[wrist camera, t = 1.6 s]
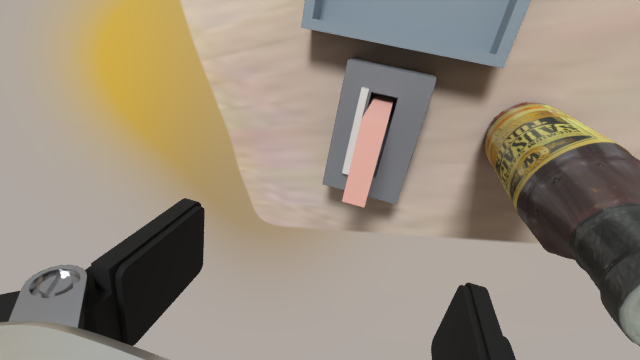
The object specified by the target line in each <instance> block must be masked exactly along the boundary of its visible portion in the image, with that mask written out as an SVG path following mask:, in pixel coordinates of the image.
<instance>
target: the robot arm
mask: <svg viewBox="0 0 640 360" xmlns="http://www.w3.org/2000/svg"><path fill="white" fill-rule="evenodd" d="M203 246H204V208H203V207H201V204H200V203H199V202H196V201H193V200H190V199H186V198H184V199H182V200H181V201H179V202H178V203H176V204H175V205H174V206H172V207H171V208H169V209H168V210H166V211H165V212H164V213H162V214H161V215H159V216H158V217H156V218H155V219H154V220H152V221H151V222H149V223H148V224H147V225H145V226H144V227H142V228H141V229H139V230H138V231H137V232H135V233H134V234H132V235H131V236H129V237H128V238H127V239H125V240H124V241H122V242H121V243H119V244H118V245H117V246H115V247H114V248H112V249H111V250H109V251H108V252H107V253H105V254H104V255H103V256H101V257H100V258H98V259H97V260H95V261H94V262H93V263H91V265H92V266H90V267H89V268H87V269H86V270H84V269H83V268H81V267H78V266H74V265H60V266H55V267H51V268H48V269H45V270H42V271H40V272H38V273H37V274H35V275H33V276H32V277H31V278H29V279H28V280H27V281H26V282H25V284H24V285H23V287H22V289H21V291H17V292H12V293H6V294H2V295H0V360H168V359H166V358H163V357H160V356H158V355H155V354H153V353H150V352H147V351H145V350H142V349H139V348H136V347H134V346H133V345H135V344H136V343H137V342H138V341H139V340H140V339H141V337H142V336H143V335H144V334H145V333H146V332H147V331H148V330H149V328H150V327H151V326H152V325H153V324H154V323H155V322H156V321H157V320H158V318H159V317H160V316H161V315H162V314H163V313H164V312H165V311H166V309H167V308H168V307H169V306H170V305H171V304H172V302H174V301H175V299H176V298H177V297H178V296H179V295H180V294H181V293H182V292H183V290H184V289H185V288H186V287H187V286H188V285H189V284H190V283H191V281H192V280H193V279H194V278H195V277H196V276H197V274H199V272H200V270H201V269H202V266H203ZM431 353H432V360H516V359H515V356H514V353H513V350H512V348H511V345H510V343H509V341H508V339H507V338H506V337H504V336H503V335H502V332H501V329H500V326H499V323H498V320H497V317H496V314H495V311H494V308H493V305H492V302H491V299H490V296H489V293H488V290H487V289H486V288H485V287H482V286H478V285H475V284H471V283H466V285H465V286H463V285H460V286H459V287H458V289H457V291H456V293H455V295H454V297H453V299H452V301H451V303H450V305H449V307H448V310H447V311H446V314H445V316H444V318H443V320H442V322H441V324H440V326H439V328H438V330H437V332H436V334H435V336H434V338H433V341H432V346H431Z"/></svg>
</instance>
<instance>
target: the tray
mask: <svg viewBox="0 0 640 360" xmlns="http://www.w3.org/2000/svg"><path fill="white" fill-rule="evenodd" d="M530 1H531V0H305V4H304V11H303V19H302V26H301V28H306V29H311V30H315V31H320V32H325V33H330V34H335V35H340V36H345V37H350V38H355V39H360V40H365V41H370V42H375V43H380V44H385V45H390V46H395V47H400V48H405V49H410V50H415V51H420V52H425V53H430V54H435V55H440V56H445V57H450V58H454V59H459V60H464V61H469V62H474V63H479V64H484V65H489V66H494V67H499V68H503V67H504V65H505V62H506V60H507V57H508V55H509V52H510V50H511V47H512V45H513V42H514V40H515V38H516V35H517V33H518V30H519V28H520V25H521V23H522V20H523V18H524V15H525V13H526V10H527V8H528V6H529V3H530Z"/></svg>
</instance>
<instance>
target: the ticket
mask: <svg viewBox="0 0 640 360" xmlns="http://www.w3.org/2000/svg"><path fill="white" fill-rule="evenodd" d="M393 100H394V99H393V98H389V97H385V96H380V95H376V96H375V98H374V99H373V101H372V102H371V104H370V106H369V107H368V109H367V111H366V112H365V114H364V116H363V117H362V120H361V124H360V128H359V132H358V137H357V141H356V145H355V149H354V153H353V157H352V162H351V166H350V170H349V174H348V178H347V183H346V187H345V191H344V195H343V199H342V202H346V203H349V204H353V205H356V206H360V207H363V208H364V207H365V203H366V200H367V196H368V192H369V189H370V185H371V182H372V178H373V174H374V171H375V167H376V164H377V160H378V156H379V153H380V149H381V145H382V142H383V138H384V135H385V131H386V127H387V124H388V120H389V116H390V112H391V108H392V104H393Z"/></svg>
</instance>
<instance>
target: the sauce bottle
mask: <svg viewBox="0 0 640 360" xmlns="http://www.w3.org/2000/svg"><path fill="white" fill-rule="evenodd" d="M484 144H485V151H486V155H487V158H488V160H489V162H490V164H491V166H492V167H493V169H494V171H495V173H496V174H497V176H498V178H499V180H500V182H501V183H502V185H503V187H504V189H505V191H506V192H507V194H508V196H509V198H510V199H511V201H512V203H513V205H514V207H515V209H516V211H517V213H518V214H519V216H520V217H521V219H522V220H523V221H524V222H525V224H526V225H527V226H528V228H529V229H530V230H531V232H532V233H533V234H534V236H535V237H536V238H537V240H538V241H539V242H540V244H541V245H542V246H543V248H544V249H545V250H546V251H548V252H550V253H553V254H557V255H559V256H562V257H565V258H569V259H574V260H576V262H577V263H578V265H579V266H580V267H581V268H582V269H584V270H585V271H586V272H587V273H588V274H589V276H590V277H591V279H592V280H593V281H594V283H595V285H596V286H597V287H598V289H599V290H600V293H601V300H602V303H603V305H604V307H605V308H606V310H607V311H608V313H609V314H610V316H611V317H612V318H613V320H614V321H615V322H616V323H617V325H618V326H619V327H620V329H621V330H622V331H623V332H624V334H625V335H626V336H627V337H628V338H629V339H630V340H631V341H632V342H634V343H636V344H637V345H639V346H640V160H638V159H636V158H635V157H633V156H632V155H631V153H629V152H628V151H627V150H626V149H625V148H623V147H622V146H620V145H618V144H617V143H615V142H613V141H612V140H610V139H608V138H606V137H605V136H603V135H601V134H600V133H598V132H596V131H594V130H593V129H591V128H589V127H587V126H586V125H584V124H582V123H581V122H579V121H577V120H576V119H574V118H572V117H571V116H569V115H567V114H565V113H564V112H562V111H560V110H558V109H556V108H554V107H552V106H549V105H545V104H539V103H521V104H518V105H515V106H513V107H510V108H508V109H506V110H505V111H503V112H501V113H500V114H499V115H498V116H496V117H495V118H494V119H493V121H492V122H491V124H490V126H489V129H488V130H487V133H486V137H485V140H484Z"/></svg>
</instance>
